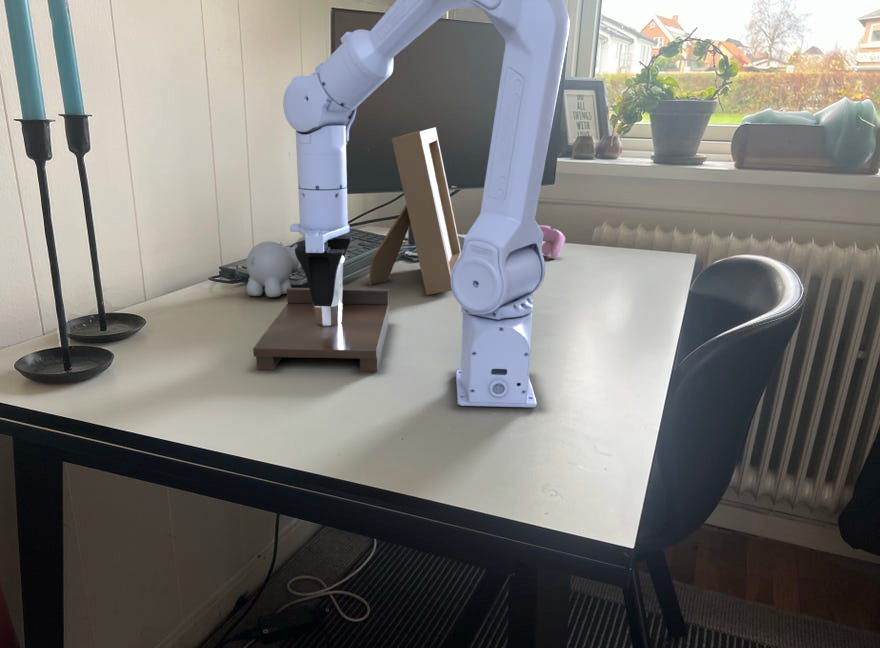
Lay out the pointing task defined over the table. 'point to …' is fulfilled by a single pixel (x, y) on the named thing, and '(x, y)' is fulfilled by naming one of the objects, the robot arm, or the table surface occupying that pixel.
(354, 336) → the shelf
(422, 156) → the photo frame
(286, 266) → the round bodied animal figurine
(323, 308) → the milkshake
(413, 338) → the table surface
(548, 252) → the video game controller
